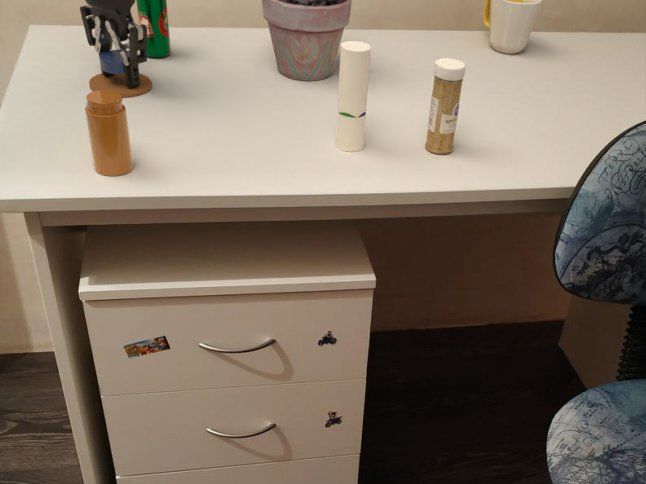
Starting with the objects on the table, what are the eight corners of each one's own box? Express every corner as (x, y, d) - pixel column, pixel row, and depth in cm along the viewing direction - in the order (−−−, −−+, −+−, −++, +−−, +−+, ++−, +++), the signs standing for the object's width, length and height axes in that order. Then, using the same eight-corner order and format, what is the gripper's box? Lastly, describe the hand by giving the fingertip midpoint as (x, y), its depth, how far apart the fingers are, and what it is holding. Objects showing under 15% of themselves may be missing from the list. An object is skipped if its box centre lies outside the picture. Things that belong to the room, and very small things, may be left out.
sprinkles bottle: (450, 157, 125) (463, 70, 116) (421, 152, 125) (432, 64, 116) (455, 145, 128) (468, 59, 119) (427, 140, 129) (438, 54, 120)
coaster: (115, 102, 129) (114, 98, 128) (76, 83, 133) (76, 80, 132) (164, 87, 135) (164, 84, 135) (126, 70, 139) (126, 66, 139)
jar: (110, 179, 110) (99, 107, 103) (86, 166, 112) (74, 95, 105) (141, 168, 113) (132, 97, 106) (117, 155, 115) (107, 85, 108)
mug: (539, 57, 164) (551, 2, 157) (494, 58, 161) (504, 3, 154) (510, 34, 173) (520, -18, 167) (467, 35, 170) (475, -18, 163)
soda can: (136, 51, 146) (128, -20, 138) (161, 47, 149) (155, -23, 141) (151, 60, 143) (144, -12, 135) (176, 56, 146) (170, -15, 138)
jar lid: (125, 58, 135) (123, 47, 134) (145, 69, 132) (143, 57, 131) (94, 66, 132) (92, 54, 130) (114, 76, 129) (112, 65, 128)
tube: (332, 140, 125) (336, 41, 116) (357, 138, 127) (364, 40, 117) (341, 152, 123) (346, 52, 113) (367, 150, 124) (375, 50, 114)
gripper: (157, -22, 122) (167, 88, 133) (97, -45, 128) (112, 63, 139) (116, -14, 117) (130, 100, 128) (56, -38, 123) (74, 73, 134)
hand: (120, 80), depth 133 cm, fingers closed on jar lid, 5 cm apart
